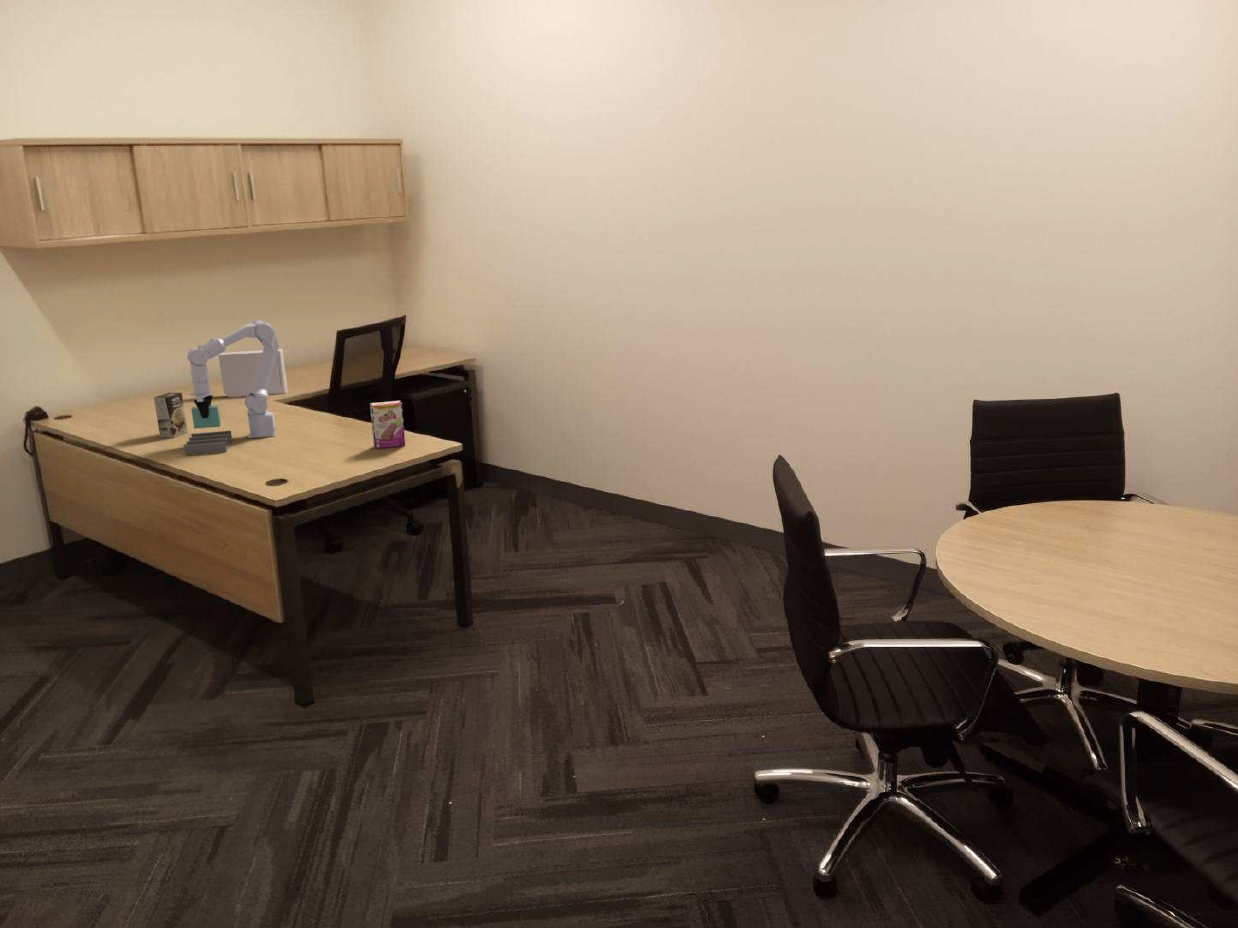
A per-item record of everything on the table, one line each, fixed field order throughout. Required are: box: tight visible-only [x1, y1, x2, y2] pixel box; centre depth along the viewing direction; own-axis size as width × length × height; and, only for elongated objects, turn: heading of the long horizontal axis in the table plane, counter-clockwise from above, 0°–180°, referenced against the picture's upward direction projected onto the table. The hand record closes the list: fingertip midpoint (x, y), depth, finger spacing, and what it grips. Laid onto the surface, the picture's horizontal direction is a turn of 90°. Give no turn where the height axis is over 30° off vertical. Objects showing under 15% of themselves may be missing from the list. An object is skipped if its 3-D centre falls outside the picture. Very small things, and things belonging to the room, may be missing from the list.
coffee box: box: [153, 392, 189, 439], centre depth 375 cm, size 9×6×16 cm
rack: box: [183, 430, 233, 456], centre depth 359 cm, size 14×19×4 cm
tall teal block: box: [191, 404, 222, 430], centre depth 361 cm, size 9×4×8 cm, turn 104°
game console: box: [218, 348, 289, 398], centre depth 442 cm, size 6×27×20 cm, turn 106°
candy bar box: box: [369, 400, 406, 450], centre depth 353 cm, size 11×5×16 cm, turn 110°
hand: (206, 416), depth 361 cm, fingers closed on tall teal block, 3 cm apart
